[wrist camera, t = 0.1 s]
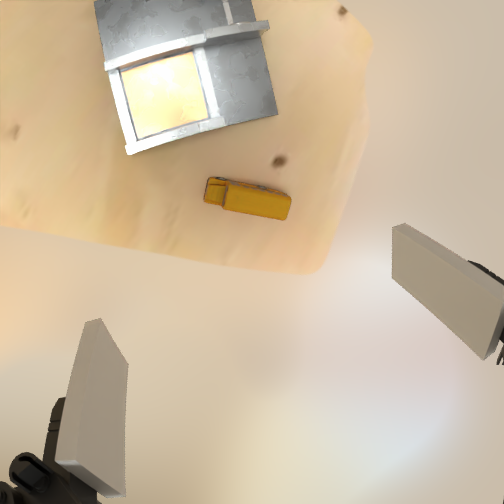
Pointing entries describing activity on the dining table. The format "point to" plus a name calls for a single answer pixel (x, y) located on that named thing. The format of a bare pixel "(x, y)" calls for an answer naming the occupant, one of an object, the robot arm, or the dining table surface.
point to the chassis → (183, 66)
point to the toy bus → (247, 198)
